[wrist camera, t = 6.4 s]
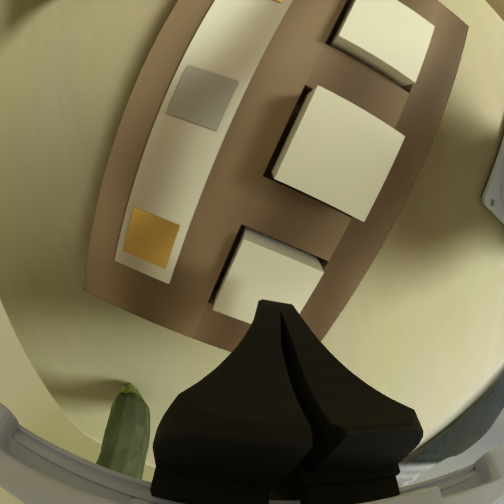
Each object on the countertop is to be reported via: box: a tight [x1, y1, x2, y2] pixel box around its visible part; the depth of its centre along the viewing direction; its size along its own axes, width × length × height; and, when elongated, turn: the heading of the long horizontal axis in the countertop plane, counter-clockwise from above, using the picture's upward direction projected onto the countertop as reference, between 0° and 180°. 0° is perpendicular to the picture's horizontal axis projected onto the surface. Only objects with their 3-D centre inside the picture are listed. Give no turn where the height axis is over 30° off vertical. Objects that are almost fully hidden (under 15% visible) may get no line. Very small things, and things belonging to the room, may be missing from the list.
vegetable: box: [96, 384, 150, 480], centre depth 12 cm, size 4×4×20 cm
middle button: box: [272, 85, 405, 222], centre depth 11 cm, size 4×4×2 cm
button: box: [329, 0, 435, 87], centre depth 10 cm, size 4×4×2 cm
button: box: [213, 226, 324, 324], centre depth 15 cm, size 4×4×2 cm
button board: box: [83, 0, 469, 352], centre depth 12 cm, size 14×24×3 cm, turn 157°
